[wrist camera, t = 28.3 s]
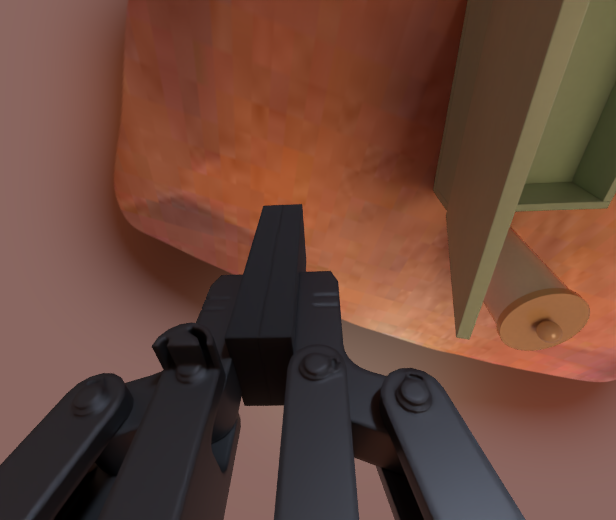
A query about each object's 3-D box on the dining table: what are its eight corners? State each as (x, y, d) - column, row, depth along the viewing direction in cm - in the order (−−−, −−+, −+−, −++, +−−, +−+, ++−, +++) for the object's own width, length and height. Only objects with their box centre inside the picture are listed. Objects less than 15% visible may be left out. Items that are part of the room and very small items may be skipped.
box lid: (638, -134, 9) (603, -129, 9) (469, 340, 20) (455, 337, 21) (516, -47, 22) (502, -46, 22) (454, 216, 33) (445, 215, 33)
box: (674, -48, 26) (753, -64, 21) (571, 185, 37) (607, 208, 33) (473, -33, 27) (506, -45, 22) (432, 190, 38) (448, 214, 34)
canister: (446, 230, 41) (504, 324, 28) (512, 207, 39) (607, 297, 26) (457, 274, 45) (513, 374, 33) (518, 256, 43) (602, 354, 30)
